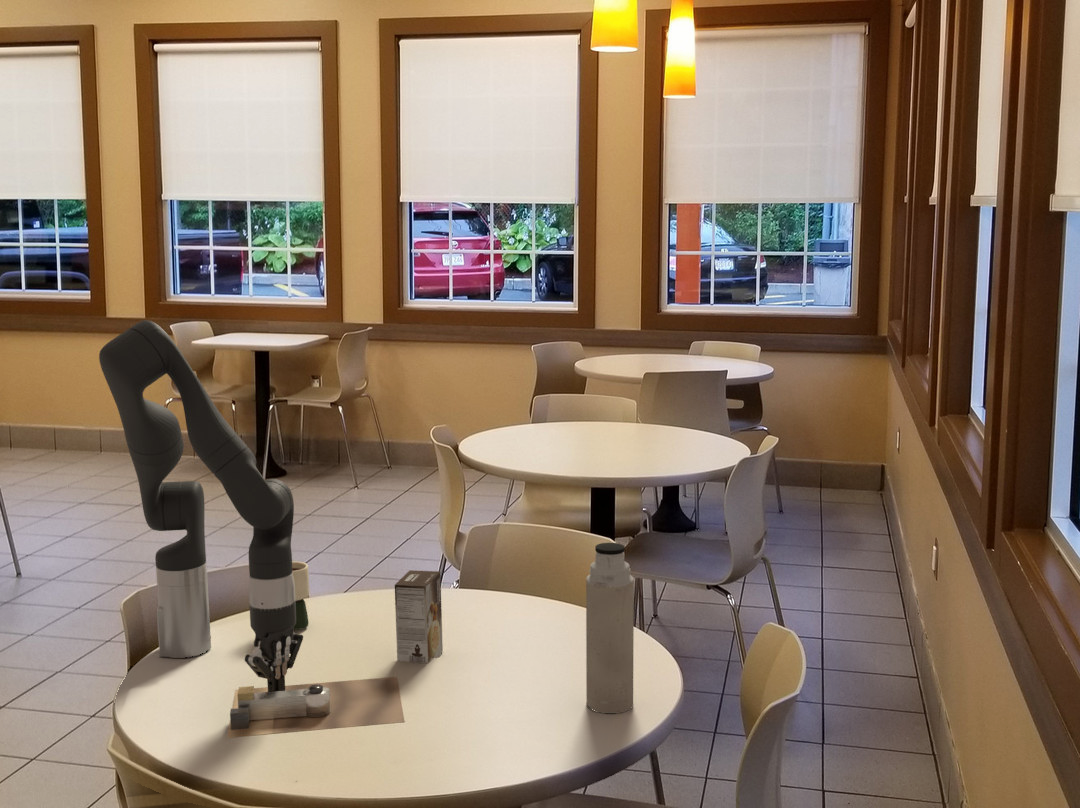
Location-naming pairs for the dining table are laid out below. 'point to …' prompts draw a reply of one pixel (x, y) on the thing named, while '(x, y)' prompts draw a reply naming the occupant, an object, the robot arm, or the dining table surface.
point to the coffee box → (418, 616)
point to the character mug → (301, 593)
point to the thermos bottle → (609, 631)
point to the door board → (337, 708)
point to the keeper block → (239, 718)
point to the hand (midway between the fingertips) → (277, 697)
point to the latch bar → (285, 702)
